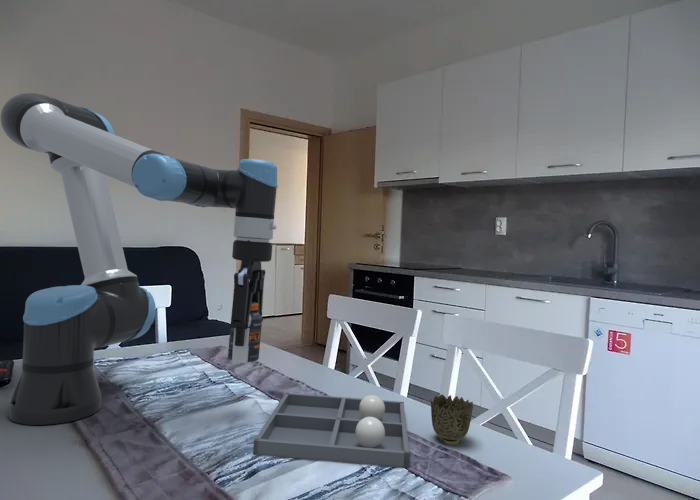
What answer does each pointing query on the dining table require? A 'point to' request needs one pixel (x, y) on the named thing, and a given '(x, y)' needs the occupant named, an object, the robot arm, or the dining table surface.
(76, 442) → the dining table surface
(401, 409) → the egg tray
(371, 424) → the egg ball
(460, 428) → the cup
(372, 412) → the egg ball
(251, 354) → the pill bottle
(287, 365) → the dining table surface
